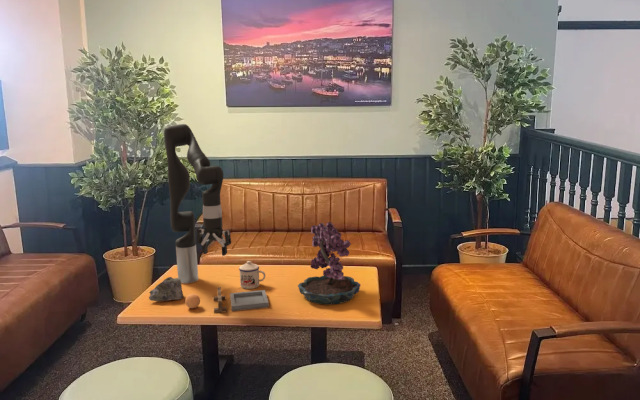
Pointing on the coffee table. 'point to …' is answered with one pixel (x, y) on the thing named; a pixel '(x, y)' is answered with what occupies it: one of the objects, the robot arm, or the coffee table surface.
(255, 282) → the teacup with lid
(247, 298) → the tray
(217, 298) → the fence
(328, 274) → the bonsai tree
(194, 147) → the robot arm
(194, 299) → the ball
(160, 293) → the mineral rock
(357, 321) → the coffee table surface
